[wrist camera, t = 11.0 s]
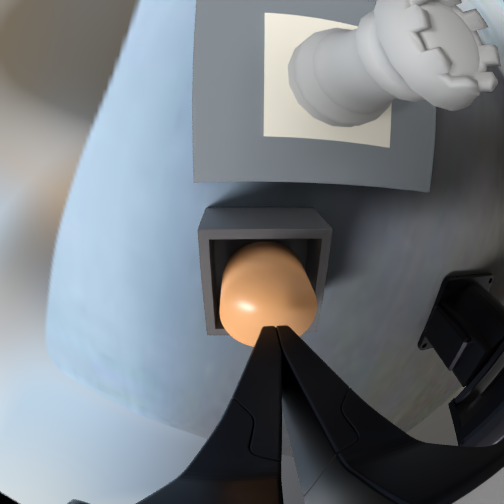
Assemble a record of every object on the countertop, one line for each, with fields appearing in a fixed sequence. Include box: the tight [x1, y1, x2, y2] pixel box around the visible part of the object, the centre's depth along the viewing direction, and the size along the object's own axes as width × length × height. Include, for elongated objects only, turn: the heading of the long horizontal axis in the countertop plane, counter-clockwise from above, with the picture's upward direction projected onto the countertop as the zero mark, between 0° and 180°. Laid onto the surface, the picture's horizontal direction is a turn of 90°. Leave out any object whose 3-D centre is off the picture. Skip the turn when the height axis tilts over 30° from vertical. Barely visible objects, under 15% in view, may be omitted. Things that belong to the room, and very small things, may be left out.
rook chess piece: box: [288, 0, 501, 127], centre depth 6 cm, size 4×4×8 cm
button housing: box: [198, 207, 333, 335], centre depth 13 cm, size 5×5×3 cm
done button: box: [220, 241, 317, 346], centre depth 11 cm, size 4×4×2 cm
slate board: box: [192, 0, 436, 193], centre depth 10 cm, size 12×10×1 cm
